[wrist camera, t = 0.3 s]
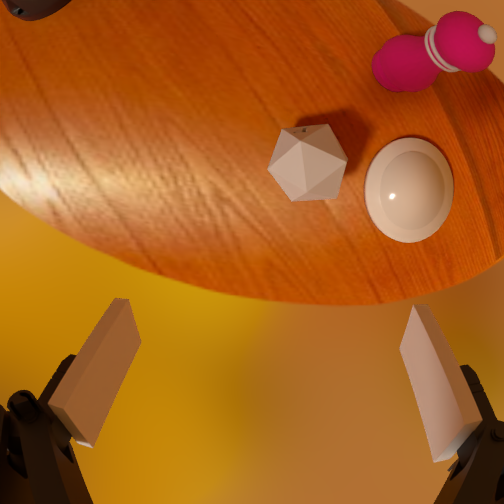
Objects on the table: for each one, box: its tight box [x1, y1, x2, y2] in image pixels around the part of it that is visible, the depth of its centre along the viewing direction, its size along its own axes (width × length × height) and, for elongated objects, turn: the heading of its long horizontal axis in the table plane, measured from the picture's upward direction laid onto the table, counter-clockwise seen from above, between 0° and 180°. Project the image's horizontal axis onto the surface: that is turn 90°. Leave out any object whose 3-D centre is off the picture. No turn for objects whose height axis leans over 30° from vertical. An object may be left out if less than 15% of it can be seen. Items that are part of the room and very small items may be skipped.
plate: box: [364, 138, 454, 243], centre depth 38 cm, size 14×14×1 cm
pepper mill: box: [372, 11, 497, 92], centre depth 24 cm, size 7×7×20 cm
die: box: [268, 124, 348, 201], centre depth 34 cm, size 8×9×10 cm
